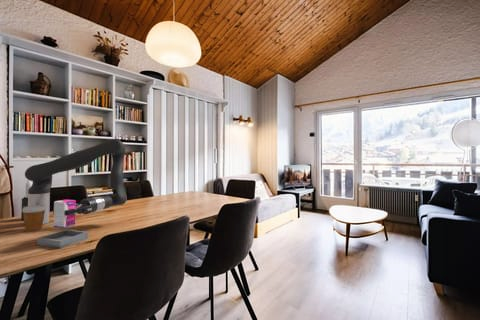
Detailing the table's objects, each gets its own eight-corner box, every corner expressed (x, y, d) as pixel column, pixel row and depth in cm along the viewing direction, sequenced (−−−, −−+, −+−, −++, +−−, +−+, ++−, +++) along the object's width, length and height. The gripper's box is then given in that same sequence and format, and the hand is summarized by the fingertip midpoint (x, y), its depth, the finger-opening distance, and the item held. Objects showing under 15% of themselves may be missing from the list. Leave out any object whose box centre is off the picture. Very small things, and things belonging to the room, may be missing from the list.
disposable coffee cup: (44, 230, 117) (45, 207, 117) (19, 233, 112) (19, 209, 112) (47, 226, 125) (47, 204, 125) (23, 228, 119) (24, 205, 119)
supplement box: (64, 228, 100) (64, 202, 100) (53, 227, 101) (53, 201, 101) (76, 224, 106) (76, 199, 105) (65, 223, 107) (65, 199, 107)
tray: (37, 245, 98) (37, 238, 98) (66, 235, 111) (66, 229, 111) (60, 248, 95) (60, 241, 95) (88, 238, 108) (88, 232, 108)
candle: (36, 218, 138) (37, 177, 138) (25, 220, 133) (26, 178, 133) (30, 217, 140) (31, 177, 140) (20, 219, 135) (21, 177, 135)
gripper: (81, 197, 119) (46, 203, 102) (104, 198, 115) (72, 205, 99) (81, 211, 119) (46, 219, 103) (103, 213, 115) (72, 222, 99)
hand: (59, 212), depth 101 cm, fingers closed on supplement box, 6 cm apart
